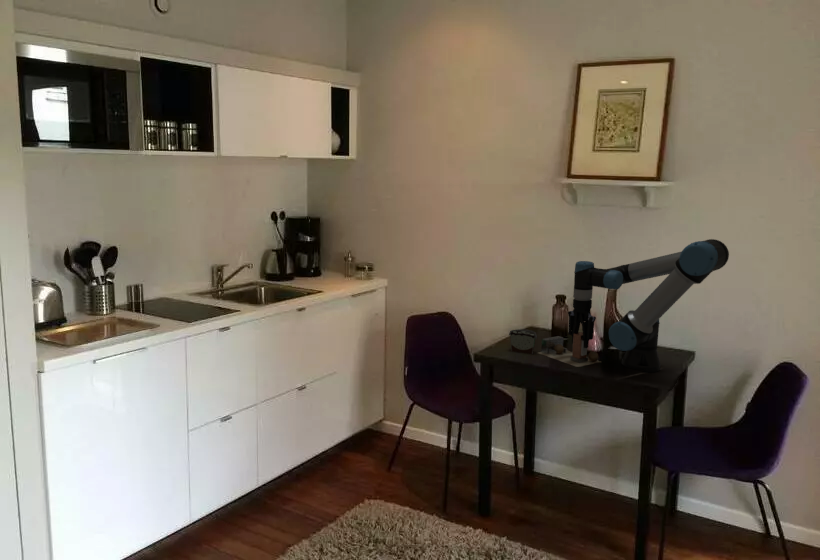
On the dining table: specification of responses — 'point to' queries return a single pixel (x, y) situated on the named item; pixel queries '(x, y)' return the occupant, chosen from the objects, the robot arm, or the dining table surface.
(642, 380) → the dining table surface
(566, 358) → the board
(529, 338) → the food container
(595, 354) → the nut
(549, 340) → the anvil
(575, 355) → the reddish brown block
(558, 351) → the nut
